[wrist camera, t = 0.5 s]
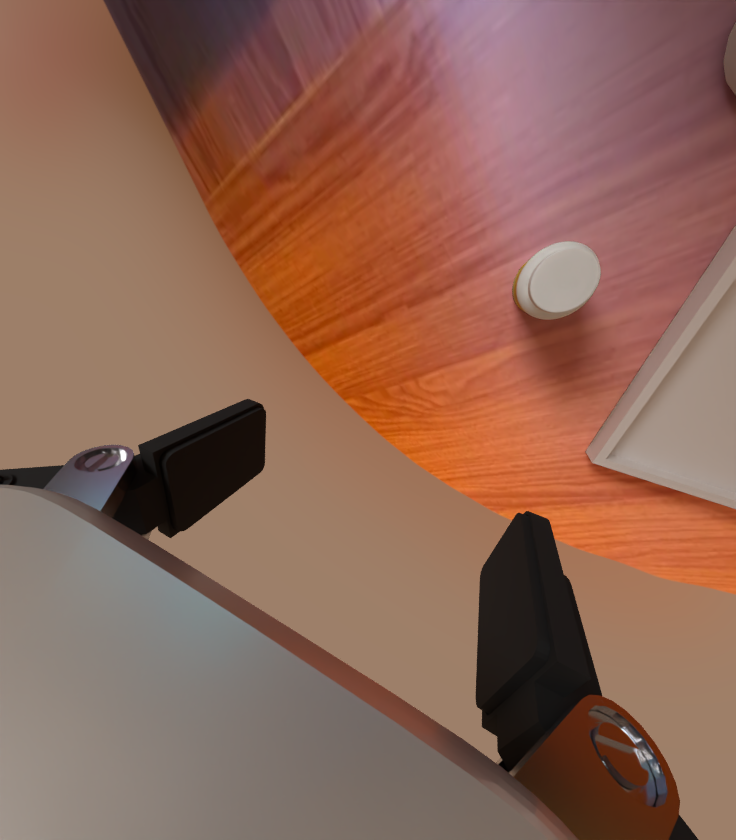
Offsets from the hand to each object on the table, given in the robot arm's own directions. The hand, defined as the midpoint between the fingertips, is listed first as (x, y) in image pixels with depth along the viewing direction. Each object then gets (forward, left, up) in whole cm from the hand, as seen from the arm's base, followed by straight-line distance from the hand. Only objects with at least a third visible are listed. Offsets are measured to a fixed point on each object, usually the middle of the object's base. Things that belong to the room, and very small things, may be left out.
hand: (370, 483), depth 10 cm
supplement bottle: (-8, +6, -27) cm, 28 cm away
